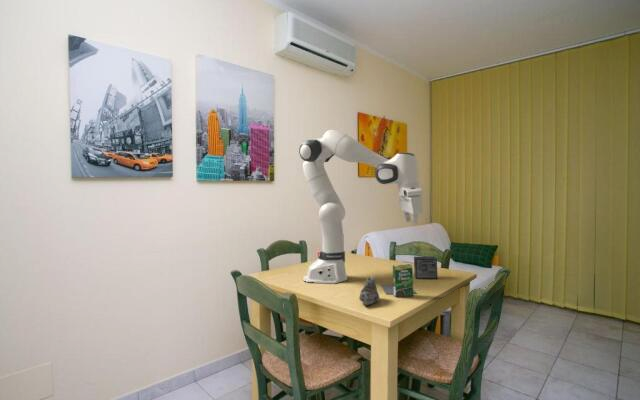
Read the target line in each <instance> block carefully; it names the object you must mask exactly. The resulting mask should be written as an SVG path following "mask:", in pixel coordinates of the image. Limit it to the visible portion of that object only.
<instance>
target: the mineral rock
mask: <svg viewBox="0 0 640 400" xmlns="http://www.w3.org/2000/svg"><path fill="white" fill-rule="evenodd" d="M359 293H360V294H359V301H360V302H362V303H363V305H365V306H367V305H372V304H374V303H376V302H378V301H379V300H380V293H378V288H377V282H376V278H375V277H374V276H373V277H372V276H368V277H367V279H366V282H365V285H364V286H363V287H362V289H361V290H360V292H359Z"/></svg>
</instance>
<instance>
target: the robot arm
mask: <svg viewBox="0 0 640 400" xmlns="http://www.w3.org/2000/svg"><path fill="white" fill-rule="evenodd" d="M298 153H299V156H300V158H301V160H303V161H304V162H303V164H302V171H303V175H304V178H305V180H306V183H307V185H308V187H309V189H310V192H311V194H312V197H313V198H314V199H315V201H316V202H317V203H318V206H319V207H320V209H318V210H319V211H318V218H319V225H320V232H321V240H322V241H321V245H322V246H321V248H322V249H321V250H318V251H317V255H318V258H317V259H316V260H315V261H314V262H313V263H311V264H310V265H309V267H308V268H307V269H308V270H307V273H306V274H305V275H303V279H302V281H303V280H304V281H306V282H305V283H307V282H314V283H313V284H338V283H341V282H345V281H347V280H348V274H347V272H346V271H347V270H346V264H345V263H346V252H345V236H344V231H343V230H344V229H343V220H344V219H345V216H346V209H345V207H344V205H343V203H342V201H341V199H340V198H339V195H338V194H337V192H336V190H335V188H334V186H333V184H332V181H331V179H330V177H329V175H328V173H327V171H326V169H325V166H324V165H325V163H328V162H329V161H330V160H331V159H332V158H333V157H334V156H335V157H337V158H339V159H341V160H343V161H346V162H350V163H363V164H365V165H370V166H371V167H373V168H375V170H374V176H375V180H376V181H377V182H378V183H379V184H381V185H393V184H396V185H397V195H398V196H399V210H401V211H402V212H403V214H404V219H405V222H411V223H412V225H414V226H416V225H418V220H419V215H422V214H423V195H424V192H423V189H422V188H421V186H420V181H419V179H418V176H419V167H418V161H417V158H416V155H415V154H414V153H412V152H397V153H396V154H395V155H394V156H393V157H392V158H387V157H385V156H384V155H381V154H379V153H377V152H376V151H374V150H372V149H369V147H367V146H365V145H364V144H362V143H361V142H360V141H357V139H355V138H353V137H352V136H350V135H348V134H347V133H344V132H342V131H339V130H336V129H334V128H333V129H328V130H327V131H325V133H324V134H323V136H322V137H317V138H314V139H308V140H306V141H305V140H304V141H303V142H302V143H301V144H300V145H299V148H298ZM410 214H411V216H412V217H410ZM411 218H412V220H411ZM304 281H303V282H304Z"/></svg>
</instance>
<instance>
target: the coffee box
mask: <svg viewBox="0 0 640 400" xmlns="http://www.w3.org/2000/svg"><path fill="white" fill-rule="evenodd" d="M413 270H414V269H413V265H412V264H410V263H409V264H395V265H392V285H393V293H394V294H393V297H395V298H406V297H414V294H413V290H414V275H413V274H414V271H413Z"/></svg>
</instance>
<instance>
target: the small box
mask: <svg viewBox="0 0 640 400" xmlns="http://www.w3.org/2000/svg"><path fill="white" fill-rule="evenodd" d="M413 268H414V269H413V270H414V271H413V274H414V275H413V277H414V278H415V279H416V280H438V258H437V257H436V256H413Z"/></svg>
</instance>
